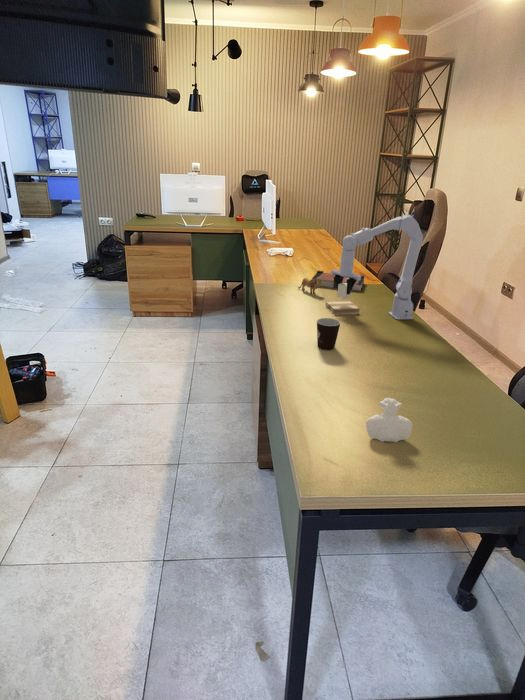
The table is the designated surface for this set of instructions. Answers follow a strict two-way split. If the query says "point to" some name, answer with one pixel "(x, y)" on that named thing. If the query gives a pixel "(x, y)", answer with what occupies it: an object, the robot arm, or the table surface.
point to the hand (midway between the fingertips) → (343, 292)
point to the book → (330, 282)
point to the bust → (389, 423)
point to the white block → (343, 291)
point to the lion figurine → (311, 284)
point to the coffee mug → (327, 333)
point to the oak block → (342, 307)
